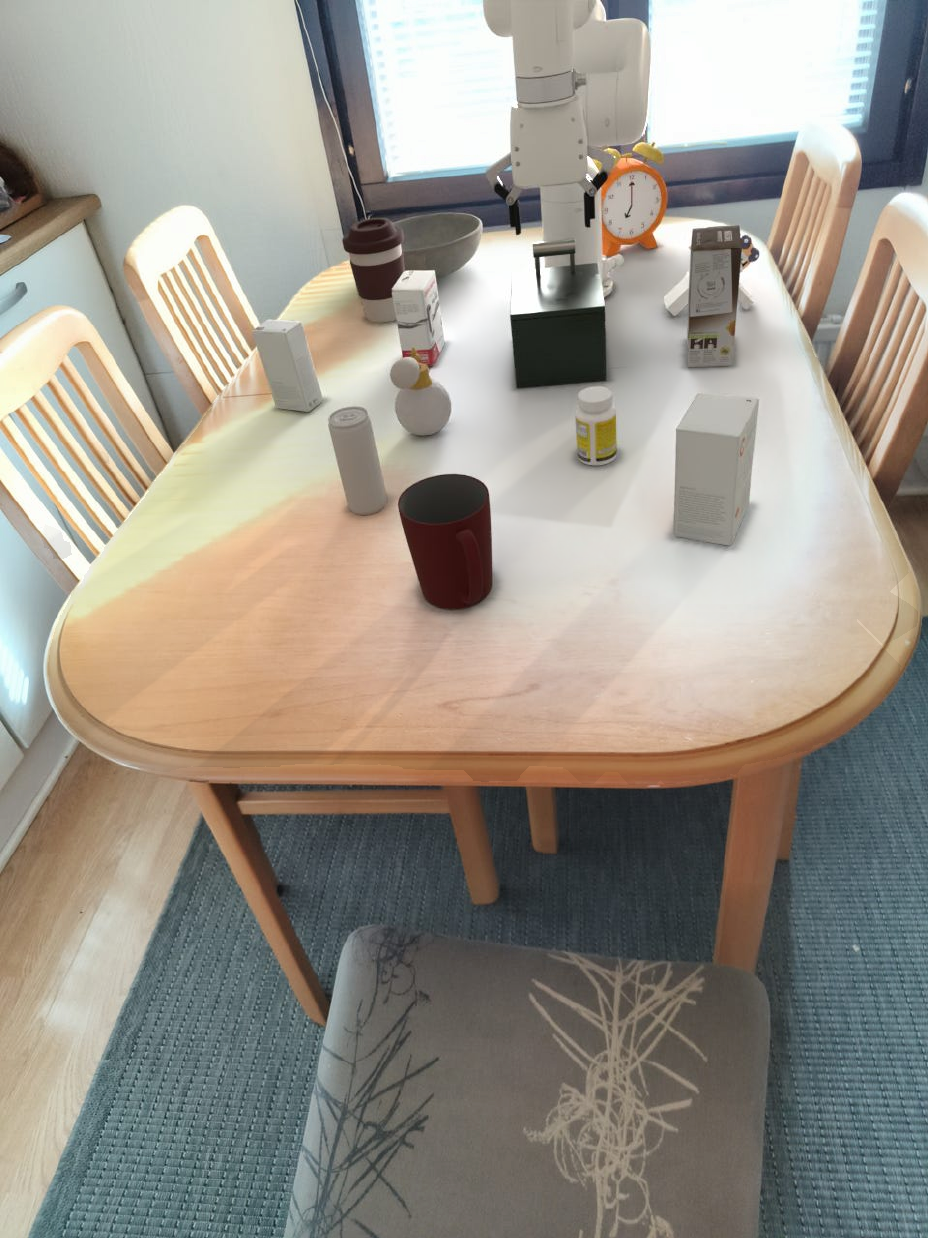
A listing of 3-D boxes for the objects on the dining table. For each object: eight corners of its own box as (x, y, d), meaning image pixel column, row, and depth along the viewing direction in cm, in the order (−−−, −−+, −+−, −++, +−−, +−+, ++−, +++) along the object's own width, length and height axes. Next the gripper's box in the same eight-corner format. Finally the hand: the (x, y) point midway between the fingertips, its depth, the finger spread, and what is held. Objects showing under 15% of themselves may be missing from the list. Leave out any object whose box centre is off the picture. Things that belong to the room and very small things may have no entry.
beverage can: (348, 498, 108) (327, 409, 101) (387, 492, 108) (369, 402, 101) (348, 519, 105) (325, 429, 97) (388, 513, 105) (369, 422, 97)
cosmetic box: (324, 399, 130) (305, 319, 122) (307, 414, 127) (286, 333, 119) (290, 395, 132) (269, 316, 125) (273, 409, 130) (250, 329, 122)
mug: (525, 615, 88) (516, 523, 81) (442, 644, 86) (425, 552, 79) (481, 552, 97) (469, 464, 90) (404, 577, 95) (386, 490, 88)
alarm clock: (598, 260, 160) (595, 137, 147) (587, 250, 164) (583, 130, 151) (667, 245, 161) (671, 123, 148) (654, 236, 166) (656, 116, 153)
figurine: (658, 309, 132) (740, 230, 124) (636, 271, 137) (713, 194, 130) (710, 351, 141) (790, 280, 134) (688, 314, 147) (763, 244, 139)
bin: (518, 342, 137) (512, 278, 131) (600, 334, 136) (599, 270, 129) (516, 388, 125) (510, 321, 119) (606, 380, 124) (605, 312, 117)
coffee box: (733, 366, 122) (743, 247, 112) (686, 368, 124) (691, 250, 113) (731, 338, 129) (740, 223, 119) (685, 340, 130) (691, 226, 120)
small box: (692, 496, 100) (698, 390, 91) (750, 505, 97) (761, 396, 89) (671, 537, 95) (674, 428, 86) (730, 547, 92) (740, 436, 84)
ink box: (434, 367, 134) (422, 289, 126) (403, 368, 135) (389, 291, 127) (446, 342, 140) (435, 267, 133) (416, 343, 141) (404, 269, 134)
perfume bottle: (450, 412, 122) (438, 328, 114) (460, 446, 115) (448, 359, 107) (397, 422, 122) (381, 338, 114) (403, 456, 115) (386, 370, 107)
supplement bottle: (620, 447, 110) (619, 385, 104) (612, 468, 106) (611, 404, 101) (582, 445, 111) (579, 383, 106) (573, 465, 108) (570, 402, 103)
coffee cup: (348, 325, 150) (329, 234, 141) (374, 302, 157) (357, 214, 148) (400, 328, 147) (384, 234, 137) (424, 304, 154) (410, 213, 144)
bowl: (445, 301, 154) (439, 254, 148) (351, 290, 163) (342, 245, 158) (506, 258, 166) (502, 213, 161) (415, 250, 176) (409, 207, 171)
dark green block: (512, 276, 131) (509, 239, 128) (598, 267, 130) (597, 230, 126) (510, 320, 119) (506, 281, 116) (605, 311, 117) (604, 271, 114)
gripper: (612, 74, 115) (613, 213, 126) (479, 91, 117) (492, 226, 128) (616, 85, 109) (617, 230, 120) (476, 102, 111) (490, 243, 122)
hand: (552, 228), depth 124 cm, fingers open, 9 cm apart
